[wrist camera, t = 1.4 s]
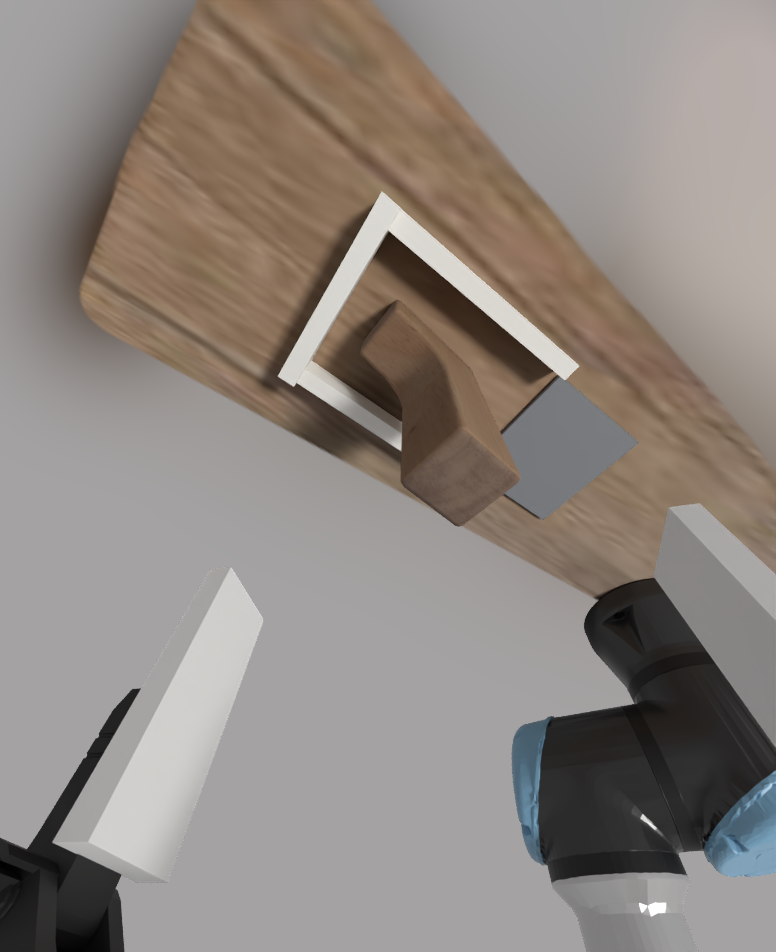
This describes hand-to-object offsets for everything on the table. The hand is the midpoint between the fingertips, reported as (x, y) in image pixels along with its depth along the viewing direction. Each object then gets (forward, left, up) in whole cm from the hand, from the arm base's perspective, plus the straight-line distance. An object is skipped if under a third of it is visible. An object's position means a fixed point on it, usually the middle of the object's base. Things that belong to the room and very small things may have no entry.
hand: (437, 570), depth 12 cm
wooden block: (0, 0, -26) cm, 26 cm away
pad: (-12, -11, -25) cm, 30 cm away
